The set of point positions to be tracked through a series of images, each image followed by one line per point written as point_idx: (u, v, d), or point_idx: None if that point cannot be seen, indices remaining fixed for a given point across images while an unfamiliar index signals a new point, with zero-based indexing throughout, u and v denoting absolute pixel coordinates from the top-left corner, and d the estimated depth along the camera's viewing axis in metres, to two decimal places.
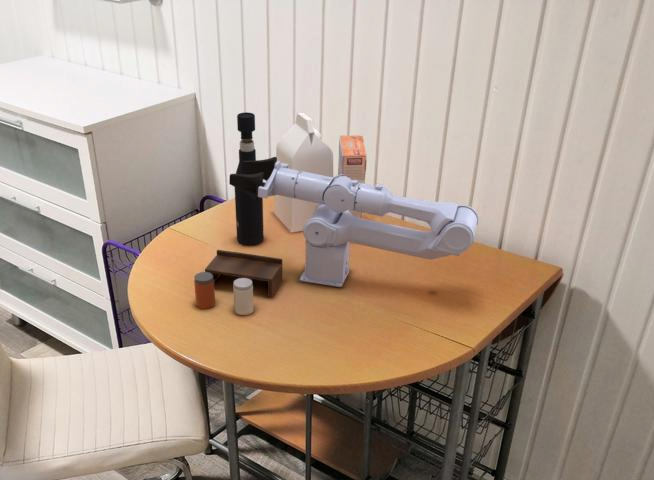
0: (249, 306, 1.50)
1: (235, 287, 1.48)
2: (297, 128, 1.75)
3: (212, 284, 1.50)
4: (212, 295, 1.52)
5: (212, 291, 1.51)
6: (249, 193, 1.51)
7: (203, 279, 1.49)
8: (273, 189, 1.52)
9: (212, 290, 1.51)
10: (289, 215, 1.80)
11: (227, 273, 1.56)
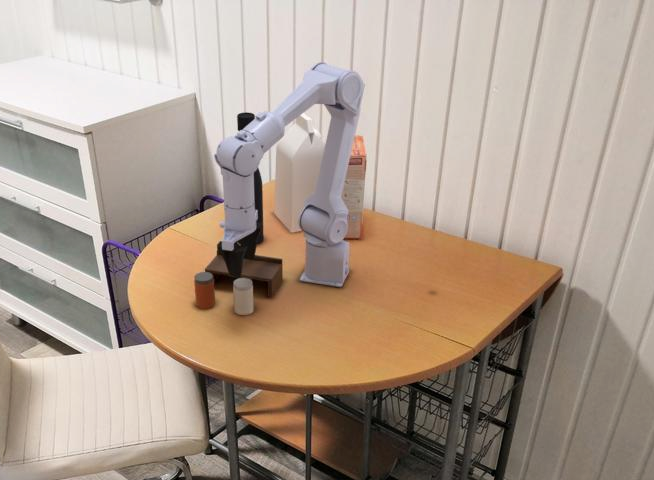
0: (249, 306, 1.50)
1: (235, 287, 1.48)
2: (297, 128, 1.75)
3: (212, 284, 1.50)
4: (212, 295, 1.52)
5: (212, 291, 1.51)
6: (239, 258, 1.39)
7: (203, 279, 1.49)
8: (239, 231, 1.39)
9: (212, 290, 1.51)
10: (289, 215, 1.80)
11: (227, 273, 1.56)
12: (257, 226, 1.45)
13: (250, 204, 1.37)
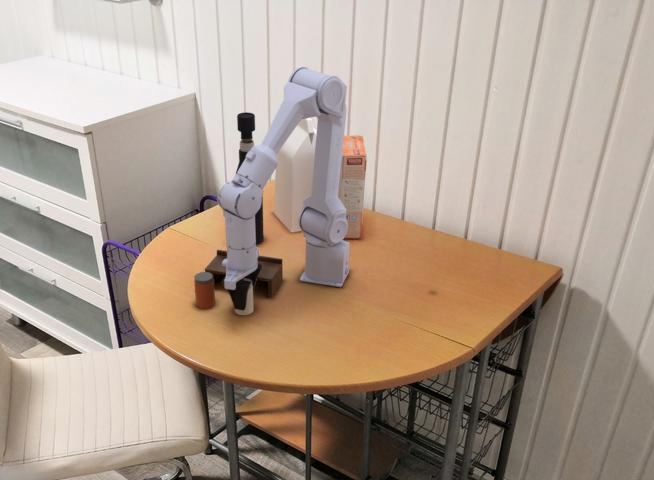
0: (249, 306, 1.50)
1: None
2: (297, 128, 1.75)
3: (212, 284, 1.50)
4: (212, 295, 1.52)
5: (212, 291, 1.51)
6: (243, 292, 1.45)
7: (203, 279, 1.49)
8: (240, 270, 1.43)
9: (212, 290, 1.51)
10: (289, 215, 1.80)
11: None
12: (258, 264, 1.50)
13: (251, 245, 1.41)
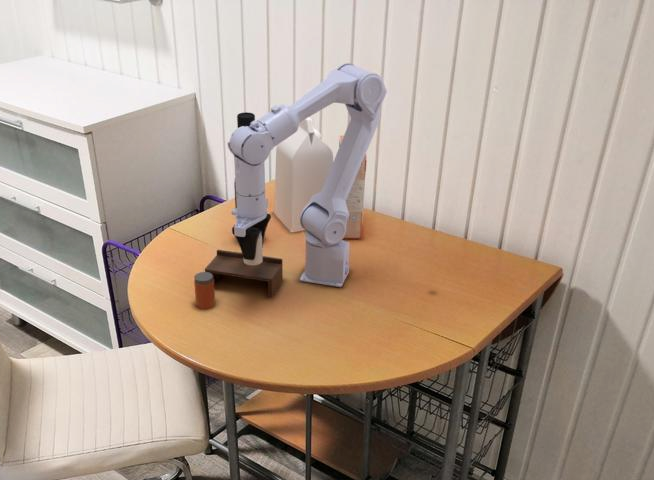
0: (258, 256, 1.50)
1: None
2: None
3: (212, 284, 1.50)
4: (212, 295, 1.52)
5: (212, 291, 1.51)
6: (253, 241, 1.45)
7: (203, 279, 1.49)
8: (250, 218, 1.43)
9: (212, 290, 1.51)
10: (289, 215, 1.80)
11: (227, 273, 1.56)
12: (267, 214, 1.50)
13: (259, 193, 1.41)
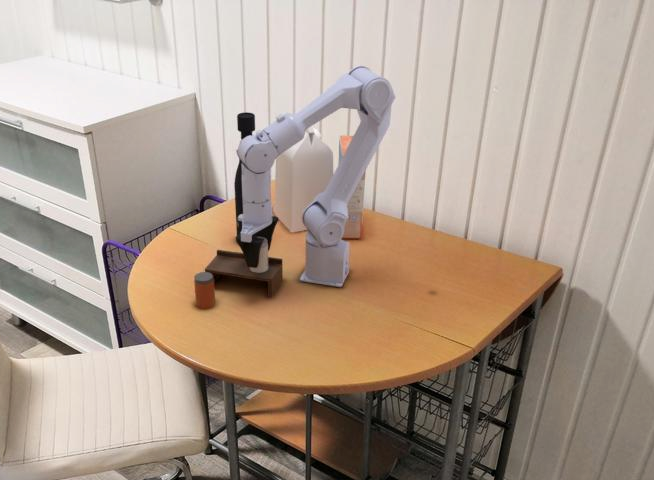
0: (264, 264, 1.55)
1: None
2: None
3: (212, 284, 1.50)
4: (212, 295, 1.52)
5: (212, 291, 1.51)
6: (256, 249, 1.48)
7: (203, 279, 1.49)
8: (256, 224, 1.48)
9: (212, 290, 1.51)
10: (289, 216, 1.80)
11: (227, 273, 1.56)
12: (272, 220, 1.55)
13: (263, 200, 1.46)
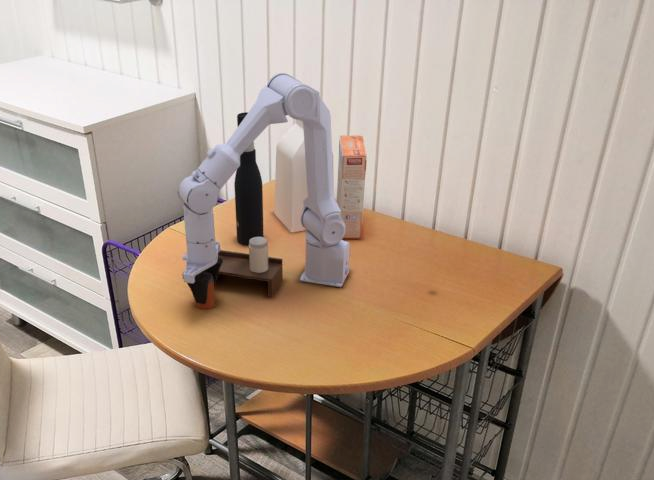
0: (264, 264, 1.55)
1: (251, 245, 1.53)
2: (297, 128, 1.75)
3: (212, 284, 1.50)
4: (212, 295, 1.52)
5: (212, 291, 1.51)
6: (203, 286, 1.47)
7: None
8: (200, 264, 1.45)
9: (212, 290, 1.51)
10: (289, 216, 1.80)
11: (227, 273, 1.56)
12: (219, 258, 1.52)
13: (207, 240, 1.43)
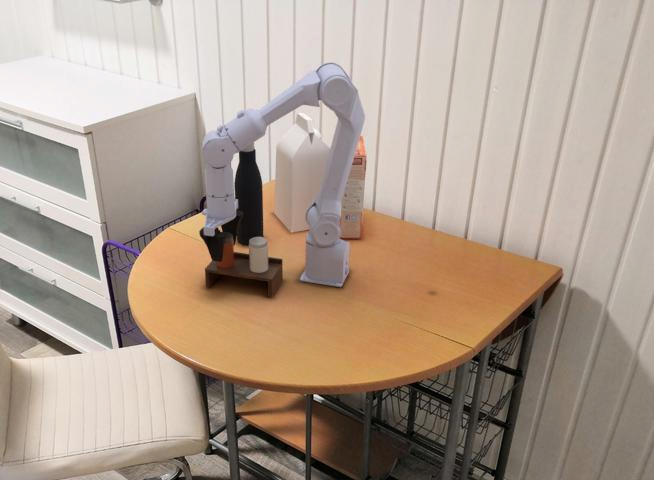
0: (264, 264, 1.55)
1: (251, 245, 1.53)
2: (297, 128, 1.75)
3: (231, 243, 1.55)
4: (232, 254, 1.57)
5: (232, 250, 1.56)
6: (219, 243, 1.50)
7: None
8: (219, 218, 1.50)
9: (231, 249, 1.56)
10: (289, 216, 1.80)
11: (227, 273, 1.56)
12: (237, 214, 1.56)
13: (222, 195, 1.47)
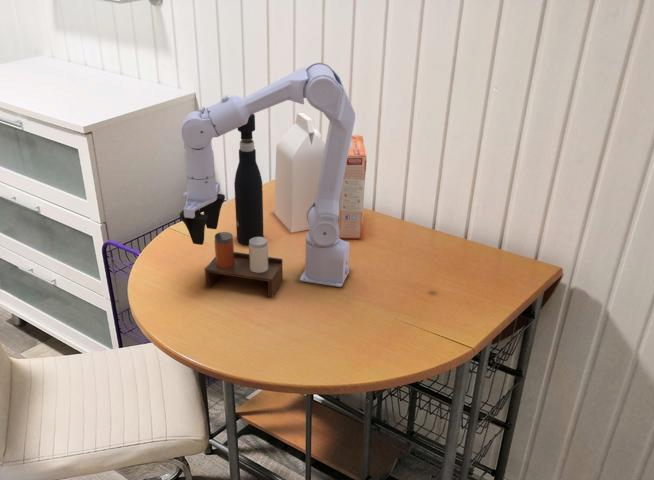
0: (264, 264, 1.55)
1: (251, 245, 1.53)
2: (297, 128, 1.75)
3: (231, 243, 1.55)
4: (232, 254, 1.57)
5: (232, 250, 1.56)
6: (200, 226, 1.49)
7: (223, 238, 1.54)
8: (200, 200, 1.49)
9: (231, 249, 1.56)
10: (289, 216, 1.80)
11: (227, 273, 1.56)
12: (219, 197, 1.55)
13: (202, 177, 1.46)
